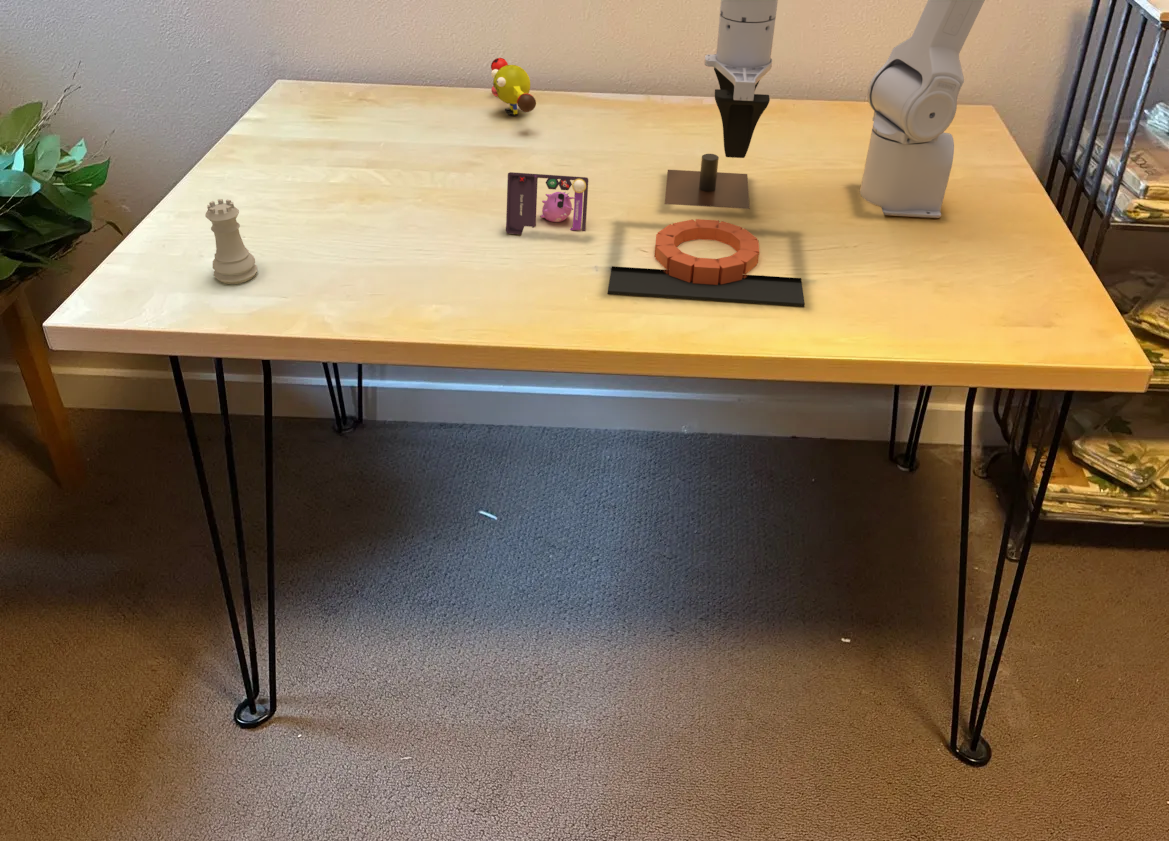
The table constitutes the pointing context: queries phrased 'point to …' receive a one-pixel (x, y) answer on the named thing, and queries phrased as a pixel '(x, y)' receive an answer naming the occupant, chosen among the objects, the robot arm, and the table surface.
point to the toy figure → (512, 86)
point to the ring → (706, 267)
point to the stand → (707, 186)
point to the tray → (706, 287)
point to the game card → (554, 208)
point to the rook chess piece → (229, 245)
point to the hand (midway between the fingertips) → (734, 142)
